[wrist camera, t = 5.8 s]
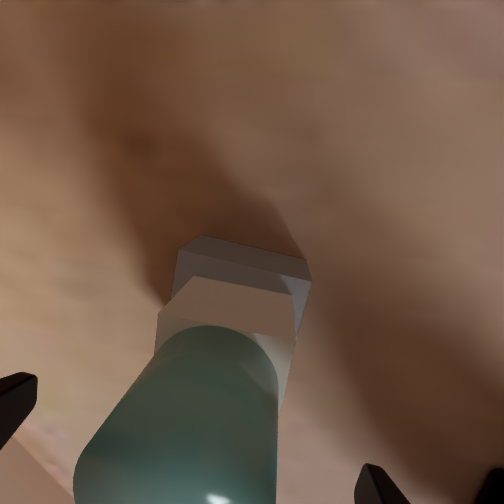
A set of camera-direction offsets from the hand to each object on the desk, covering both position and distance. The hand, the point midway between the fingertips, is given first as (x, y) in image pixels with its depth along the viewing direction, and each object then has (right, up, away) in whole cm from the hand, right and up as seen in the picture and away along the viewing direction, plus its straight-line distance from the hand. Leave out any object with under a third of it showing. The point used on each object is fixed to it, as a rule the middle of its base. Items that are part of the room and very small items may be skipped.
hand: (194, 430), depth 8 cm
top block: (+1, +1, +6) cm, 6 cm away
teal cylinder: (0, 0, +2) cm, 2 cm away
